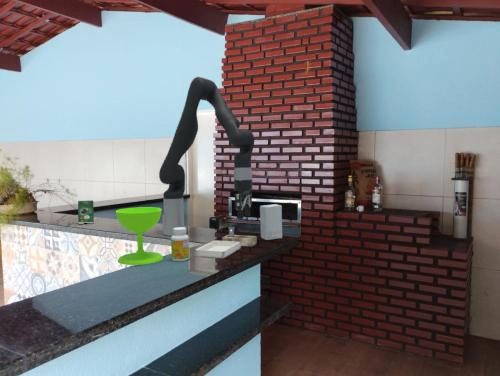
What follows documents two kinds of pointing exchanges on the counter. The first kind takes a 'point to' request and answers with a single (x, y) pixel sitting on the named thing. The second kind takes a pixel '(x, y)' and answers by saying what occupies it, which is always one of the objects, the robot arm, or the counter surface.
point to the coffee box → (85, 211)
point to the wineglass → (139, 232)
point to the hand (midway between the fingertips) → (244, 217)
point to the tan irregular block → (242, 239)
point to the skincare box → (271, 221)
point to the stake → (231, 231)
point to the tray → (218, 249)
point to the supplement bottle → (180, 244)
